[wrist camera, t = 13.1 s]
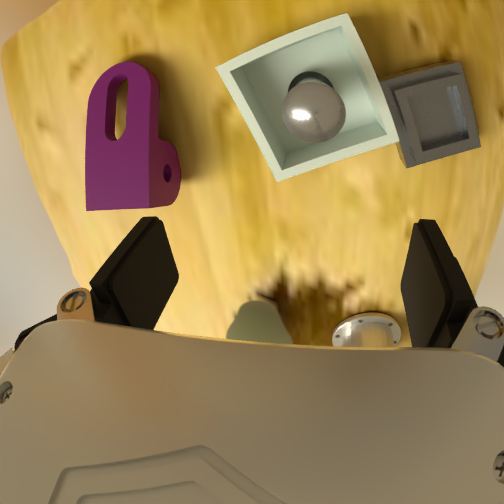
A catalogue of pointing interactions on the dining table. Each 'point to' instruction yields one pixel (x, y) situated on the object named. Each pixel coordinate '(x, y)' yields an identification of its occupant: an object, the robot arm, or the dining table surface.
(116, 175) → the mounting bracket
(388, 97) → the socket block
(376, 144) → the bin
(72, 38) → the dining table surface
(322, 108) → the grey rounded piece
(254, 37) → the dining table surface
